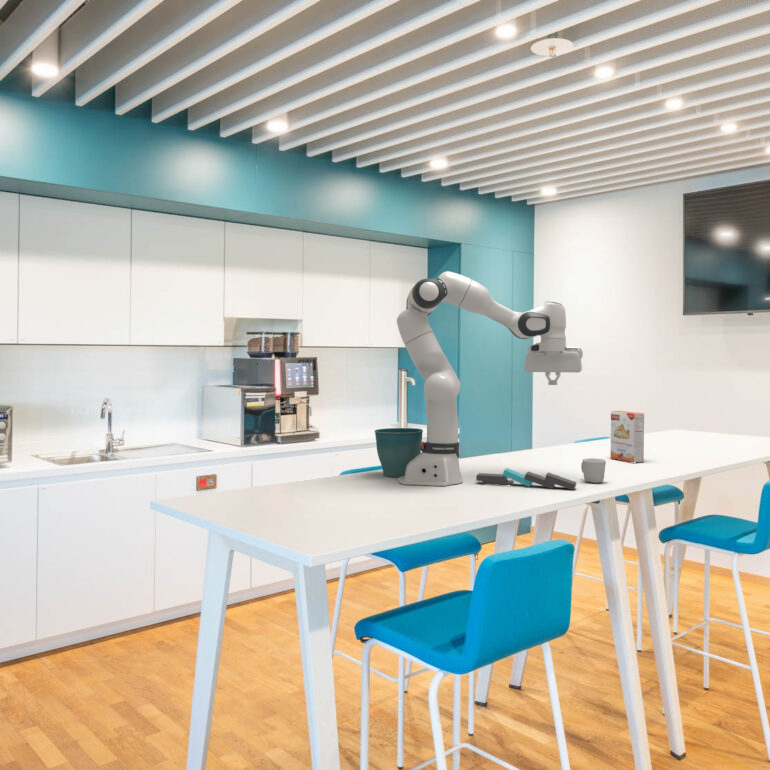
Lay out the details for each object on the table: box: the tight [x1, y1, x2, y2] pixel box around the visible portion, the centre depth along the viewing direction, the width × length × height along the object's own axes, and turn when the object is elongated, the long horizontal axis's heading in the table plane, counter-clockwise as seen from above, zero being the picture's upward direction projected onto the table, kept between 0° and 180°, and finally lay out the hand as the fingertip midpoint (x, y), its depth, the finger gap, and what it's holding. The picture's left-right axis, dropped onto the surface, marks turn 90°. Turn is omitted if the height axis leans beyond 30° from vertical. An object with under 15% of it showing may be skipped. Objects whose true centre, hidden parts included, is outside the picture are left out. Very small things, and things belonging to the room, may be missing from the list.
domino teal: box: [502, 467, 534, 488], centre depth 256 cm, size 2×5×10 cm
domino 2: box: [481, 479, 515, 487], centre depth 259 cm, size 2×5×10 cm
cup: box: [580, 457, 607, 484], centre depth 263 cm, size 11×8×8 cm
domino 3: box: [524, 471, 556, 490], centre depth 253 cm, size 2×5×10 cm
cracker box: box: [610, 410, 645, 464], centre depth 314 cm, size 14×6×21 cm, turn 25°
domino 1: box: [475, 472, 509, 482], centre depth 259 cm, size 2×5×10 cm
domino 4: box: [544, 472, 578, 491], centre depth 250 cm, size 2×5×10 cm
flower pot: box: [374, 427, 424, 478], centre depth 276 cm, size 18×18×17 cm
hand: (552, 385), depth 269 cm, fingers closed
